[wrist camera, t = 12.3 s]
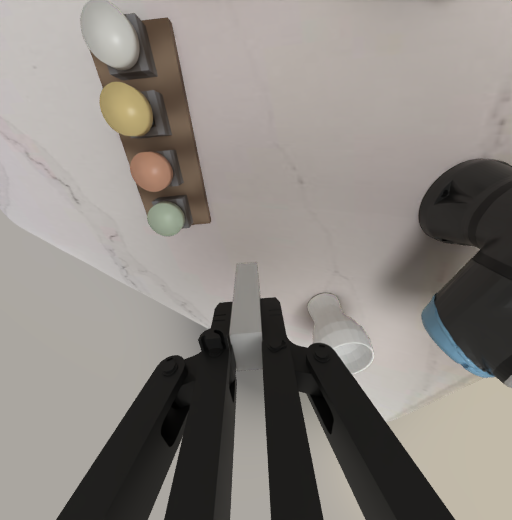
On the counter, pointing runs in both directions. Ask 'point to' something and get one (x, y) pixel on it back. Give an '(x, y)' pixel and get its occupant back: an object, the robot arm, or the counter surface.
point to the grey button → (109, 34)
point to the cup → (340, 332)
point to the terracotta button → (151, 171)
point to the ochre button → (126, 109)
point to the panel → (163, 118)
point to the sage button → (166, 218)
